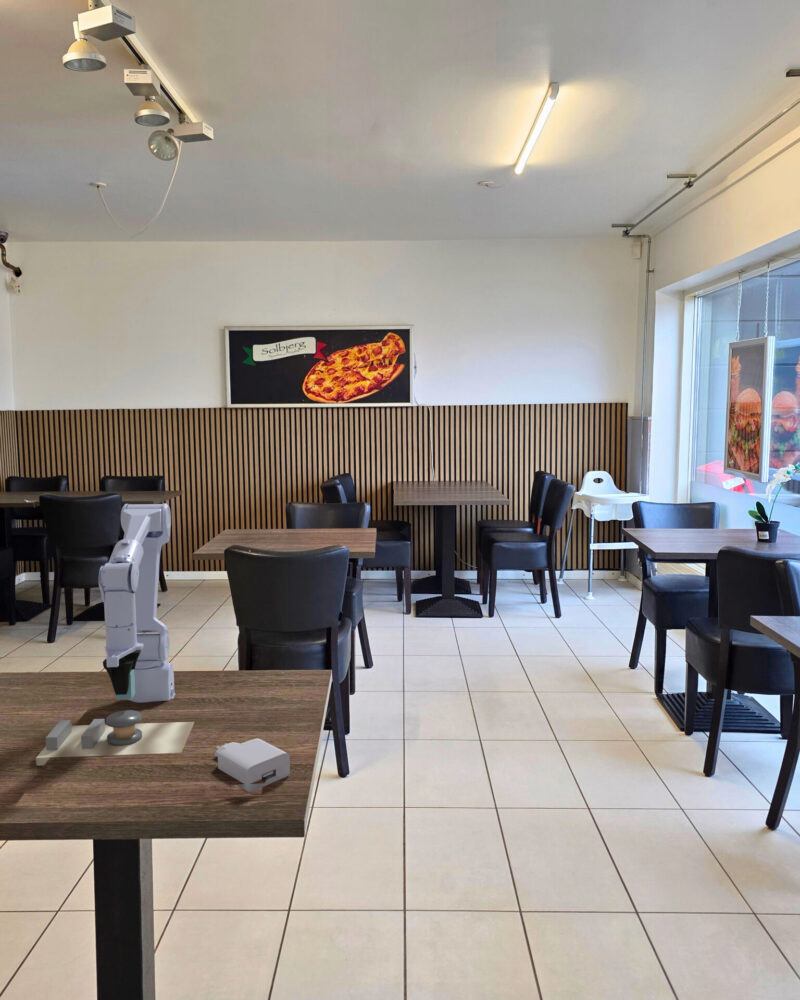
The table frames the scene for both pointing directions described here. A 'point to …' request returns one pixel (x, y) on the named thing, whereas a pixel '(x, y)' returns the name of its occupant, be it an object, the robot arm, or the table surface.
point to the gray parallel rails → (64, 730)
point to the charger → (253, 762)
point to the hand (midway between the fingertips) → (123, 690)
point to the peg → (131, 687)
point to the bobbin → (124, 728)
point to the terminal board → (152, 742)
